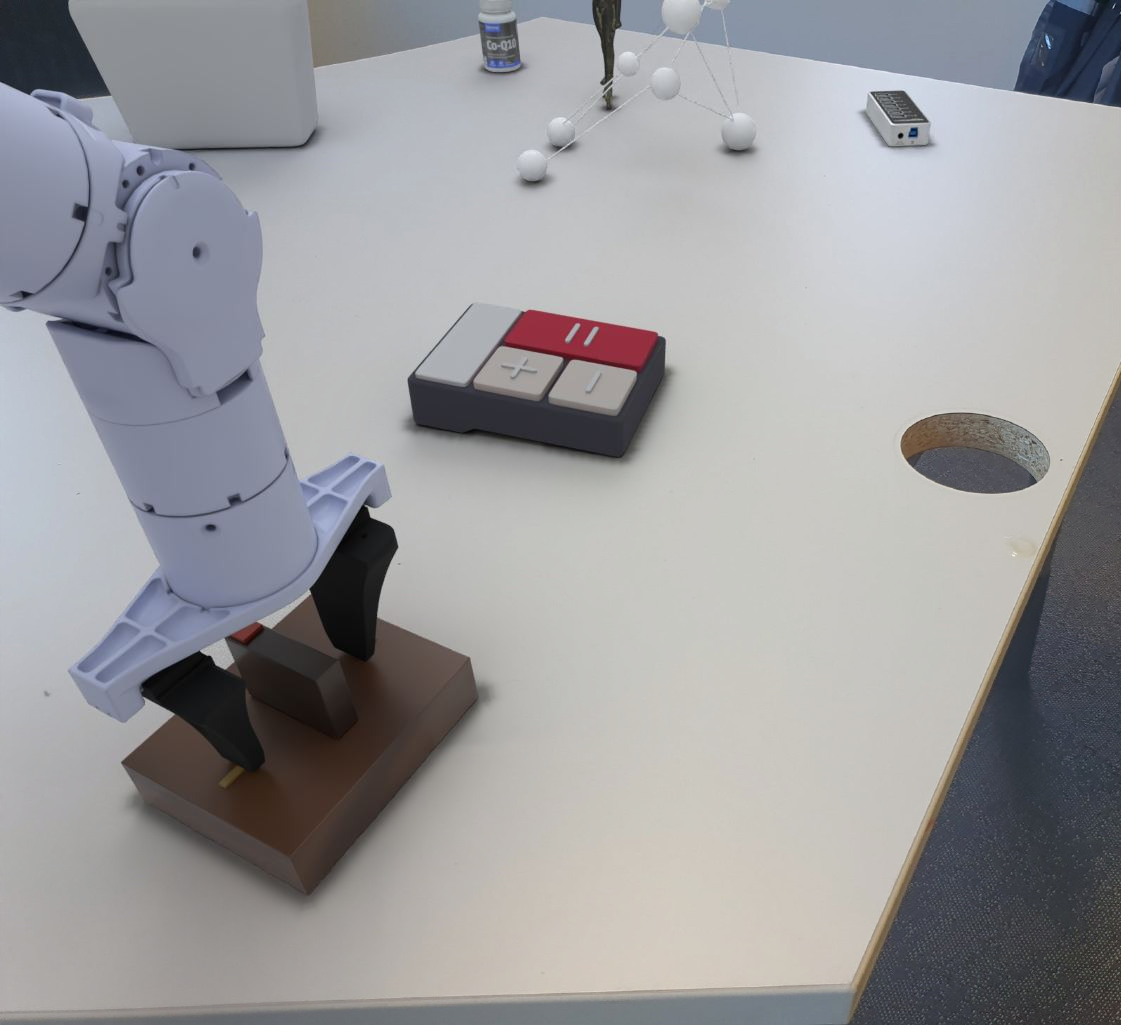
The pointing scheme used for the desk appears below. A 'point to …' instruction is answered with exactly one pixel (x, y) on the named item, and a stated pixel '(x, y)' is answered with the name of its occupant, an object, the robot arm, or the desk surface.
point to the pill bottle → (499, 36)
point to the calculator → (539, 378)
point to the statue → (607, 38)
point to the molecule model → (665, 84)
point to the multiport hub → (898, 118)
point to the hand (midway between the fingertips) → (301, 701)
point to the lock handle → (293, 678)
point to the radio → (205, 69)
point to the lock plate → (311, 755)
